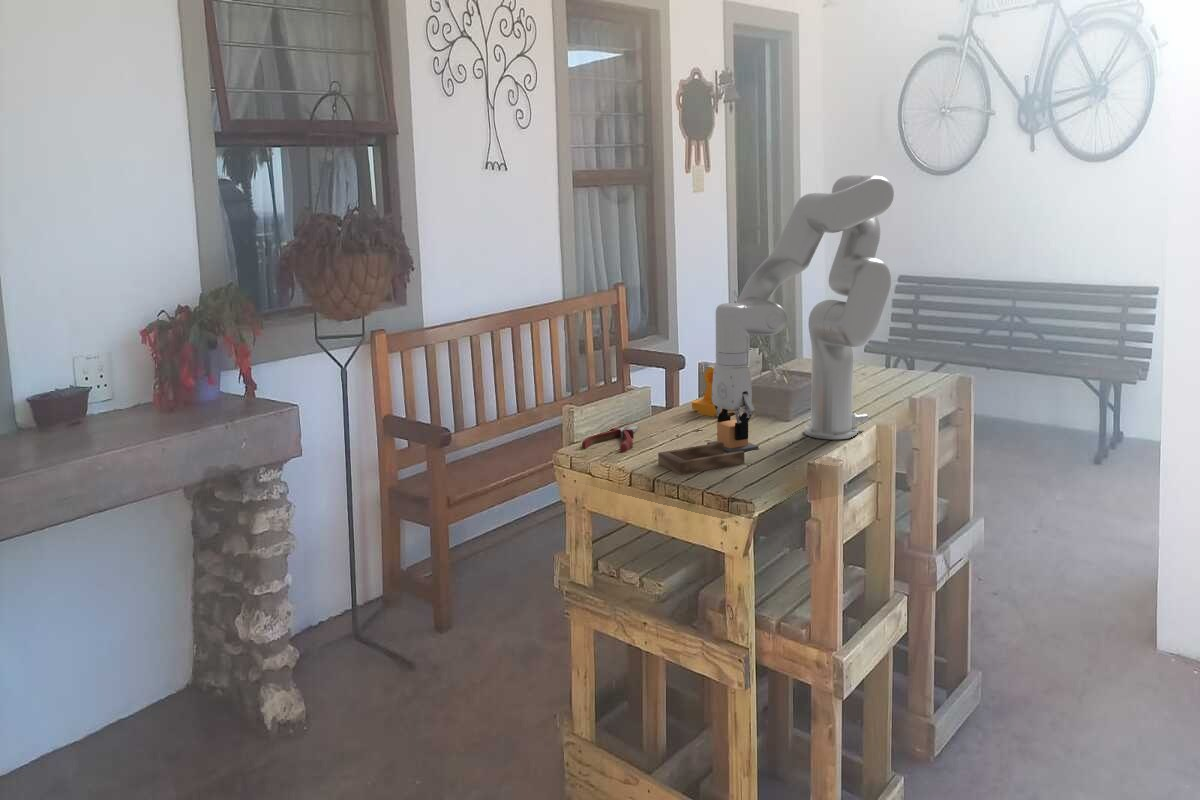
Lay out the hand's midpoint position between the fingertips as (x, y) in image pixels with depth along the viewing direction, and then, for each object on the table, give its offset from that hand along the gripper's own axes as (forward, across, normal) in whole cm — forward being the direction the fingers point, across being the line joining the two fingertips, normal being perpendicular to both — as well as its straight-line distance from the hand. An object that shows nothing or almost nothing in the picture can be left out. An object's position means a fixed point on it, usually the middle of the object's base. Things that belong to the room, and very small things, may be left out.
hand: (732, 435), depth 237 cm
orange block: (+2, 0, 0) cm, 2 cm away
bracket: (+3, -30, +14) cm, 34 cm away
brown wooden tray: (+3, +8, -13) cm, 15 cm away
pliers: (+4, -18, -19) cm, 26 cm away
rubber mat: (+3, 0, 0) cm, 3 cm away
